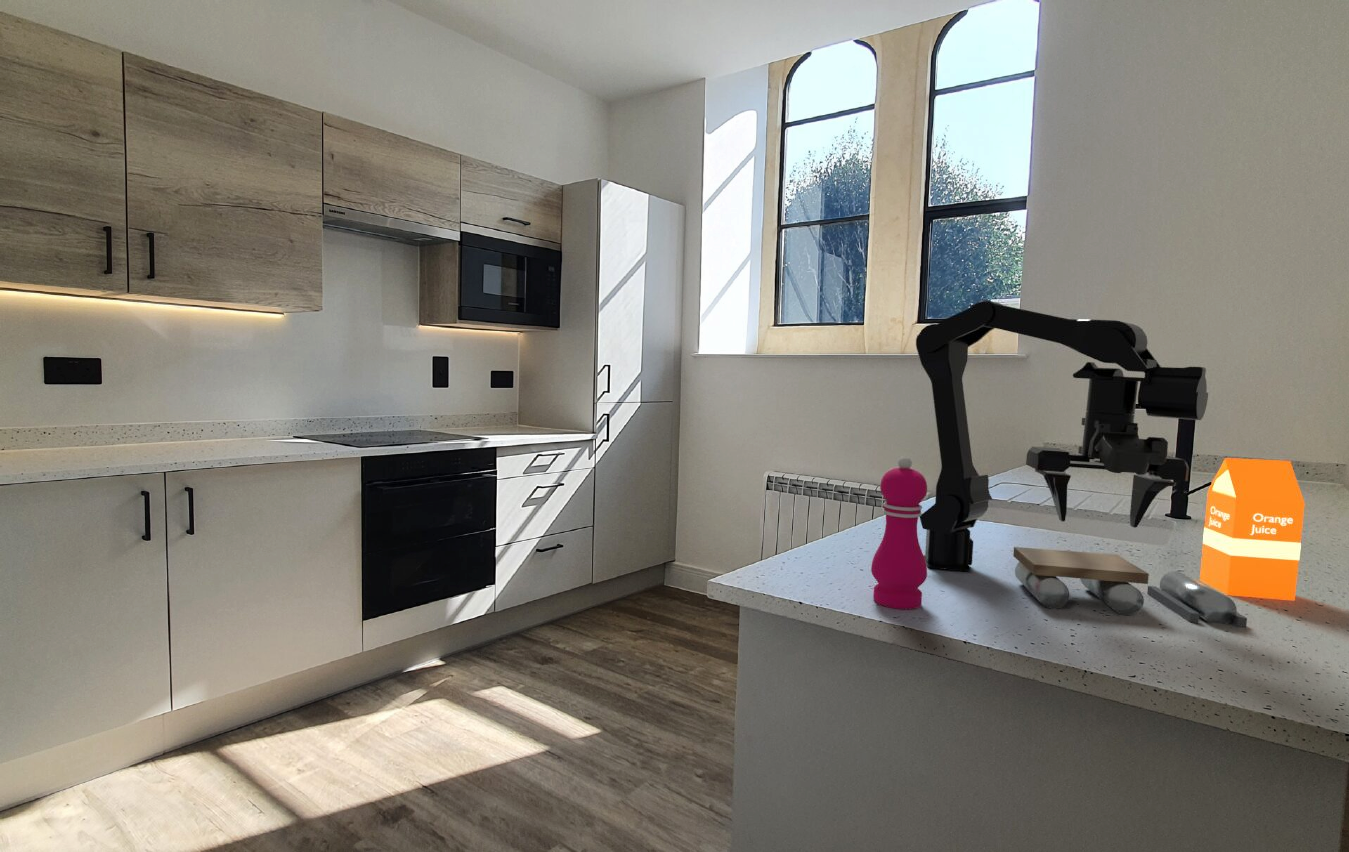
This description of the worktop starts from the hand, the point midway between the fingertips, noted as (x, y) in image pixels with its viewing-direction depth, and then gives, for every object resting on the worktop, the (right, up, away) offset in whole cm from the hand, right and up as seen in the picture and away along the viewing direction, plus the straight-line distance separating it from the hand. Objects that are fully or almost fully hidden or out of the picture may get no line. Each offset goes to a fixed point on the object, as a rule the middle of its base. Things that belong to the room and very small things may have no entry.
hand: (1097, 523), depth 97 cm
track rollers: (-3, -11, +1) cm, 11 cm away
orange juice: (+27, -11, +8) cm, 31 cm away
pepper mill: (-29, -11, -3) cm, 31 cm away
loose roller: (+12, -10, -2) cm, 16 cm away
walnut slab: (-3, -7, +1) cm, 7 cm away
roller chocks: (+12, -12, -2) cm, 17 cm away
